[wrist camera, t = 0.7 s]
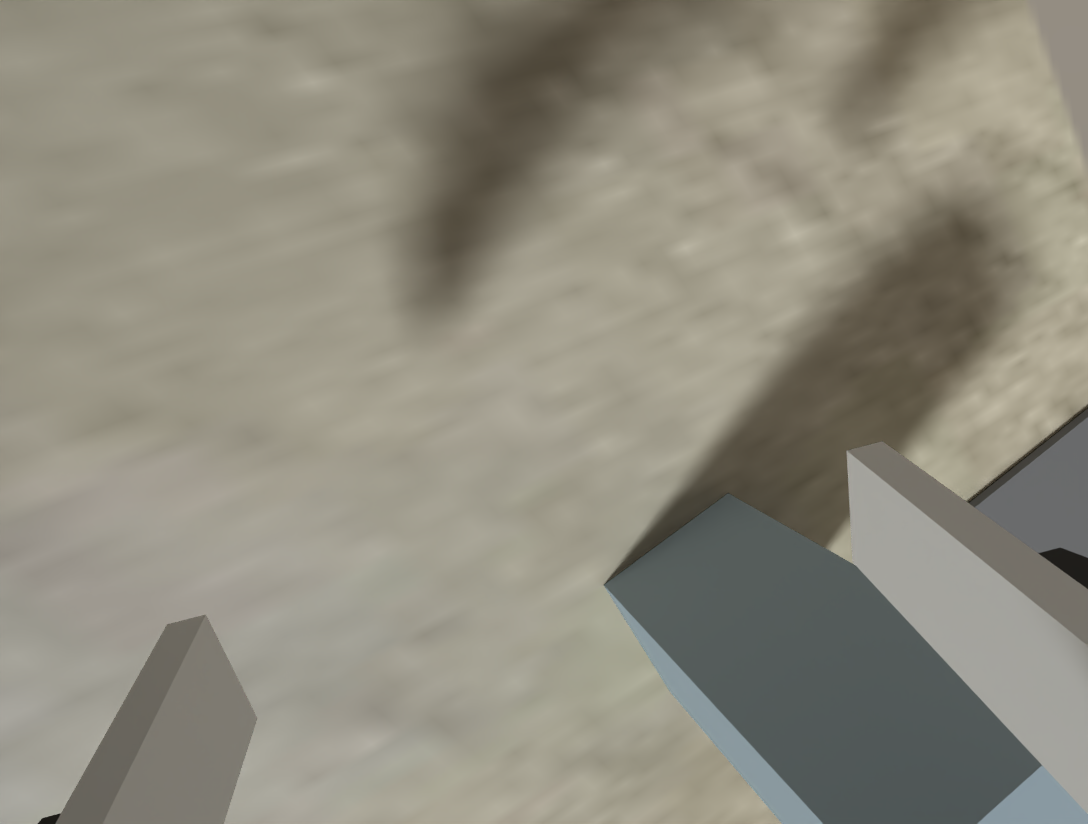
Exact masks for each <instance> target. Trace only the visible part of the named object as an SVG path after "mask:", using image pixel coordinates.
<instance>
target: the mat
mask: <svg viewBox="0 0 1088 824" xmlns="http://www.w3.org/2000/svg"><path fill="white" fill-rule="evenodd" d="M969 504H970V505H972V506H973V507H975V508H976V509H977V510H979V511H980V512H981V513H983V514H984V515H986V516H987V517H988V518H990V519H991V520H993V521H994V522H995V523H997V524H998V525H999V526H1001V527H1002V528H1004V529H1005V530H1006V531H1008V532H1009V533H1011V534H1012V535H1013V536H1015V537H1016V538H1017V539H1019V540H1020V541H1022V542H1023V543H1024V544H1026V545H1027V546H1029V547H1030V548H1031V549H1033V550H1034V551H1036V552H1037V553H1041V552H1045V551H1049V550H1052V549H1056V548H1063V549H1066V550H1068V551H1071V552H1074V553H1076V554H1079V555H1082V556H1084V557H1087V558H1088V409H1086V410H1085V411H1084V412H1083V413H1081V414H1080V415H1079V416H1078V417H1076V418H1075V419H1074V420H1073V421H1071V422H1070V423H1069V424H1067V425H1066V426H1065V427H1064V428H1062V429H1061V430H1060V431H1059V432H1057V433H1056V434H1055V435H1054V436H1052V437H1051V438H1050V439H1049V440H1047V441H1046V442H1045V443H1044V444H1042V445H1041V446H1040V447H1039V448H1037V449H1036V450H1035V451H1034V452H1032V453H1031V454H1030V455H1029V456H1027V457H1026V458H1025V459H1023V460H1022V461H1021V462H1020V463H1018V464H1017V465H1016V466H1015V467H1013V468H1012V469H1011V470H1010V471H1008V472H1007V473H1006V474H1005V475H1003V476H1002V477H1001V478H1000V479H998V480H997V481H996V482H995V483H993V484H992V485H991V486H990V487H988V488H987V489H986V490H985V491H983V492H982V493H981V494H980V495H978V496H977V497H976V498H974V499H973V500H972V501H971V502H969Z"/></svg>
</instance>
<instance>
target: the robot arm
mask: <svg viewBox="0 0 1088 824" xmlns="http://www.w3.org/2000/svg"><path fill="white" fill-rule="evenodd" d="M847 469H848V487H849V505H850V523H851V541H852V559H853V563H854V564H855V565H856V566H857V567H858V568H859V569H860V571H861V572H862V573H863V574H864V575H865V576H866V577H867V578H868V579H869V580H870V581H871V582H872V583H873V584H874V586H875V587H876V588H877V589H878V590H879V591H880V592H881V593H882V594H883V595H884V596H885V597H886V598H887V599H888V601H889V602H890V603H891V604H892V605H893V606H894V607H895V608H896V609H897V610H898V611H899V612H900V613H901V614H902V616H903V617H904V618H905V619H906V620H907V621H908V622H909V623H910V624H911V625H912V626H913V627H914V628H915V629H916V631H917V632H918V633H919V634H920V635H921V636H922V637H923V638H924V639H925V640H926V641H927V642H928V643H929V644H930V646H931V647H932V648H933V649H934V650H935V651H936V652H937V653H938V654H939V655H940V656H941V657H942V658H943V659H944V661H945V662H946V663H947V664H948V665H949V666H950V667H951V668H952V669H953V670H954V671H955V672H956V673H957V674H958V676H959V677H960V678H961V679H962V680H963V681H964V682H965V683H966V684H967V685H968V686H969V687H970V688H971V689H972V691H973V692H974V693H975V694H976V695H977V696H978V697H979V698H980V699H981V700H982V701H983V702H984V703H985V704H986V706H987V707H988V708H989V709H990V710H991V711H992V712H993V713H994V714H995V715H996V716H997V717H998V718H999V720H1000V721H1001V722H1002V723H1003V724H1004V725H1005V726H1006V727H1007V728H1008V729H1009V730H1010V731H1011V732H1012V733H1013V735H1014V736H1015V737H1016V738H1017V739H1018V740H1019V741H1020V742H1021V743H1022V744H1023V745H1024V746H1025V747H1026V748H1027V750H1028V751H1029V752H1030V753H1031V754H1032V755H1033V756H1034V757H1035V758H1036V759H1037V760H1038V761H1039V762H1040V763H1041V765H1042V766H1043V767H1044V768H1045V769H1046V770H1047V771H1048V772H1049V773H1050V774H1051V775H1052V776H1053V777H1054V778H1055V780H1056V781H1057V782H1058V783H1059V784H1060V785H1061V786H1062V787H1063V788H1064V789H1065V790H1066V791H1067V792H1068V793H1069V795H1070V796H1071V797H1072V798H1073V799H1074V800H1075V801H1076V802H1077V803H1078V804H1079V805H1080V806H1081V807H1082V808H1083V810H1084V811H1085V812H1086V813H1087V814H1088V558H1087V557H1084V556H1082V555H1079V554H1076V553H1074V552H1071V551H1068V550H1066V549H1063V548H1056V549H1052V550H1049V551H1045V552H1041V553H1037V552H1036V551H1034V550H1033V549H1031V548H1030V547H1029V546H1027V545H1026V544H1024V543H1023V542H1022V541H1020V540H1019V539H1017V538H1016V537H1015V536H1013V535H1012V534H1011V533H1009V532H1008V531H1006V530H1005V529H1004V528H1002V527H1001V526H999V525H998V524H997V523H995V522H994V521H993V520H991V519H990V518H988V517H987V516H986V515H984V514H983V513H981V512H980V511H979V510H977V509H976V508H975V507H973V506H972V505H970V504H969V503H968V502H966V501H965V500H963V499H962V498H961V497H959V496H958V495H956V494H955V493H954V492H952V491H951V490H950V489H948V488H947V487H945V486H944V485H943V484H941V483H940V482H938V481H937V480H936V479H934V478H933V477H932V476H930V475H929V474H927V473H926V472H925V471H923V470H922V469H920V468H919V467H918V466H916V465H915V464H913V463H912V462H911V461H909V460H908V459H907V458H905V457H904V456H902V455H901V454H900V453H898V452H897V451H895V450H894V449H893V448H891V447H890V446H889V445H887V444H886V443H884V442H883V441H882V442H878V443H874V444H870V445H866V446H862V447H858V448H854V449H850V450H847ZM256 721H257V716H256V714H255V712H254V710H253V708H252V706H251V704H250V702H249V700H248V698H247V696H246V694H245V692H244V690H243V688H242V686H241V684H240V682H239V680H238V678H237V676H236V674H235V672H234V670H233V668H232V666H231V664H230V662H229V660H228V658H227V656H226V654H225V652H224V650H223V648H222V646H221V644H220V642H219V640H218V638H217V636H216V634H215V632H214V630H213V628H212V626H211V624H210V622H209V620H208V618H207V616H206V615H202V616H198V617H195V618H191V619H187V620H183V621H179V622H175V623H171V624H167V626H166V628H165V629H164V631H163V633H162V635H161V636H160V638H159V640H158V642H157V644H156V645H155V647H154V649H153V651H152V653H151V654H150V656H149V658H148V660H147V661H146V663H145V665H144V667H143V669H142V670H141V672H140V674H139V676H138V677H137V679H136V681H135V683H134V685H133V686H132V688H131V690H130V692H129V693H128V695H127V697H126V699H125V701H124V702H123V704H122V706H121V708H120V710H119V711H118V713H117V715H116V717H115V718H114V720H113V722H112V724H111V726H110V727H109V729H108V731H107V733H106V734H105V736H104V738H103V740H102V742H101V743H100V745H99V747H98V749H97V750H96V752H95V754H94V756H93V758H92V759H91V761H90V763H89V765H88V767H87V768H86V770H85V772H84V774H83V775H82V777H81V779H80V781H79V783H78V784H77V786H76V788H75V790H74V791H73V793H72V795H71V797H70V799H69V800H68V802H67V804H66V806H65V807H64V809H63V811H62V813H61V814H57V815H53V816H49V817H45V818H42V820H41V821H40V822H39V823H38V824H224V821H225V817H226V814H227V811H228V808H229V805H230V802H231V799H232V796H233V792H234V789H235V786H236V783H237V780H238V777H239V774H240V771H241V768H242V764H243V761H244V758H245V755H246V752H247V749H248V746H249V743H250V739H251V736H252V733H253V730H254V727H255V724H256Z"/></svg>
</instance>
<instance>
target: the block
mask: <svg viewBox="0 0 1088 824" xmlns="http://www.w3.org/2000/svg"><path fill="white" fill-rule="evenodd" d="M604 586H605V588H606V589H607V591H608V593H609V594H610V596H611V598H612V599H613V601H614V602H615V604H616V606H617V607H618V609H619V610H620V612H621V614H622V615H623V617H624V618H625V620H626V622H627V623H628V625H629V626H630V628H631V630H632V631H633V633H634V634H635V636H636V638H637V639H638V641H639V643H640V644H641V646H642V647H643V649H644V651H645V652H646V654H647V655H648V657H649V659H650V660H651V662H652V663H653V665H654V667H655V668H656V670H657V671H658V673H659V675H660V676H661V678H662V679H663V681H664V683H665V684H666V686H667V687H668V689H669V691H670V692H671V693H672V695H673V696H674V697H675V698H676V699H677V700H678V702H679V703H680V704H681V705H682V706H683V707H684V709H685V710H686V711H687V712H688V713H689V715H690V716H691V717H692V718H693V719H694V720H695V722H696V723H697V724H698V725H699V726H700V727H701V729H702V730H703V731H704V732H705V733H706V735H707V736H708V737H709V738H710V739H711V740H712V742H713V743H714V744H715V745H716V746H717V748H718V749H719V750H720V751H721V752H722V753H723V755H724V756H725V757H726V758H727V759H728V760H729V762H730V763H731V764H732V765H733V766H734V768H735V769H736V770H737V771H738V772H739V773H740V775H741V776H742V777H743V778H744V779H745V780H746V782H747V783H748V784H749V785H750V786H751V788H752V789H753V790H754V791H755V792H756V793H757V795H758V796H759V797H760V798H761V799H762V801H763V802H764V803H765V804H766V805H767V806H768V808H769V809H770V810H771V811H772V812H773V813H774V815H775V816H776V817H777V818H778V819H779V821H780V822H781V823H782V824H1088V814H1087V813H1086V812H1085V811H1084V810H1083V808H1082V807H1081V806H1080V805H1079V804H1078V803H1077V802H1076V801H1075V800H1074V799H1073V798H1072V797H1071V796H1070V795H1069V793H1068V792H1067V791H1066V790H1065V789H1064V788H1063V787H1062V786H1061V785H1060V784H1059V783H1058V782H1057V781H1056V780H1055V778H1054V777H1053V776H1052V775H1051V774H1050V773H1049V772H1048V771H1047V770H1046V769H1045V768H1044V767H1043V766H1042V765H1041V763H1040V762H1039V761H1038V760H1037V759H1036V758H1035V757H1034V756H1033V755H1032V754H1031V753H1030V752H1029V751H1028V750H1027V748H1026V747H1025V746H1024V745H1023V744H1022V743H1021V742H1020V741H1019V740H1018V739H1017V738H1016V737H1015V736H1014V735H1013V733H1012V732H1011V731H1010V730H1009V729H1008V728H1007V727H1006V726H1005V725H1004V724H1003V723H1002V722H1001V721H1000V720H999V718H998V717H997V716H996V715H995V714H994V713H993V712H992V711H991V710H990V709H989V708H988V707H987V706H986V704H985V703H984V702H983V701H982V700H981V699H980V698H979V697H978V696H977V695H976V694H975V693H974V692H973V691H972V689H971V688H970V687H969V686H968V685H967V684H966V683H965V682H964V681H963V680H962V679H961V678H960V677H959V676H958V674H957V673H956V672H955V671H954V670H953V669H952V668H951V667H950V666H949V665H948V664H947V663H946V662H945V661H944V659H943V658H942V657H941V656H940V655H939V654H938V653H937V652H936V651H935V650H934V649H933V648H932V647H931V646H930V644H929V643H928V642H927V641H926V640H925V639H924V638H923V637H922V636H921V635H920V634H919V633H918V632H917V631H916V629H915V628H914V627H913V626H912V625H911V624H910V623H909V622H908V621H907V620H906V619H905V618H904V617H903V616H902V614H901V613H900V612H899V611H898V610H897V609H896V608H895V607H894V606H893V605H892V604H891V603H890V602H889V601H888V599H887V598H886V597H885V596H884V595H883V594H882V593H881V592H880V591H879V590H878V589H877V588H876V587H875V586H874V584H873V583H872V582H871V581H870V580H869V579H868V578H867V577H866V576H865V575H864V574H863V573H862V572H861V571H860V569H859V568H858V567H857V566H855V565H854V564H852V563H850V562H848V561H847V560H845V559H843V558H841V557H840V556H838V555H836V554H834V553H833V552H831V551H829V550H827V549H826V548H824V547H822V546H820V545H818V544H817V543H815V542H813V541H811V540H810V539H808V538H806V537H804V536H803V535H801V534H799V533H797V532H796V531H794V530H792V529H790V528H789V527H787V526H785V525H783V524H782V523H780V522H778V521H776V520H774V519H773V518H771V517H769V516H767V515H766V514H764V513H762V512H760V511H759V510H757V509H755V508H753V507H752V506H750V505H748V504H746V503H745V502H743V501H741V500H739V499H737V498H736V497H734V496H732V495H730V494H729V493H728V494H726V495H725V496H724V497H722V498H721V499H720V500H718V501H717V502H716V503H714V504H713V505H711V506H710V507H709V508H707V509H706V510H705V511H703V512H702V513H701V514H699V515H698V516H697V517H695V518H694V519H692V520H691V521H690V522H688V523H687V524H686V525H684V526H683V527H682V528H680V529H679V530H678V531H676V532H675V533H673V534H672V535H671V536H669V537H668V538H667V539H665V540H664V541H663V542H661V543H660V544H659V545H657V546H656V547H655V548H653V549H652V550H650V551H649V552H648V553H646V554H645V555H644V556H642V557H641V558H640V559H638V560H637V561H636V562H634V563H633V564H631V565H630V566H629V567H627V568H626V569H625V570H623V571H622V572H621V573H619V574H618V575H617V576H615V577H614V578H613V579H611V580H610V581H608V582H607V583H606V584H604Z"/></svg>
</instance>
